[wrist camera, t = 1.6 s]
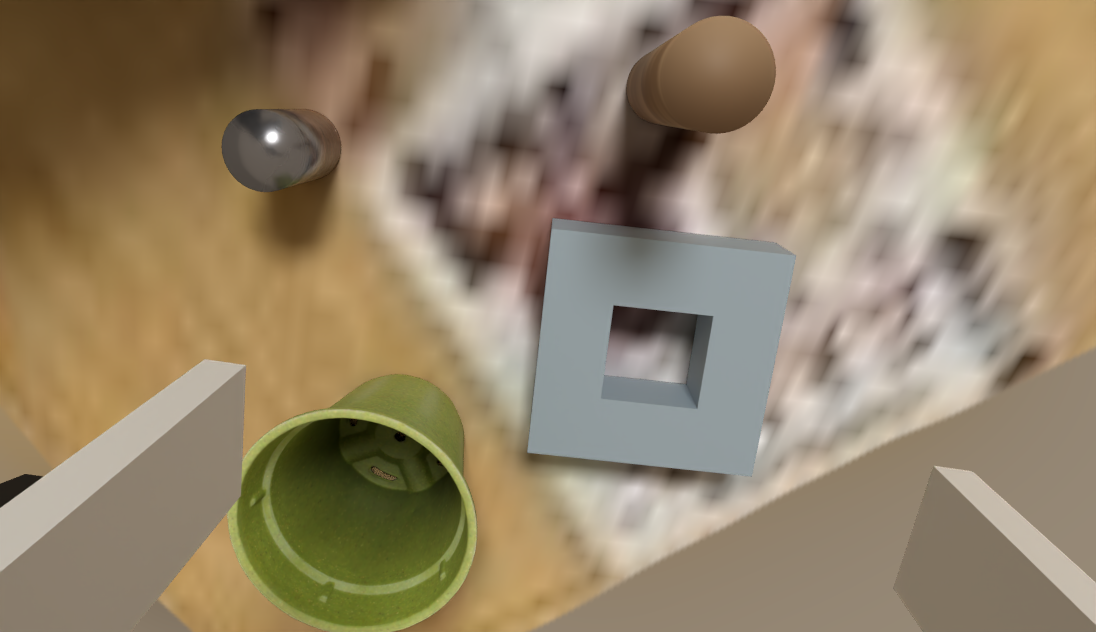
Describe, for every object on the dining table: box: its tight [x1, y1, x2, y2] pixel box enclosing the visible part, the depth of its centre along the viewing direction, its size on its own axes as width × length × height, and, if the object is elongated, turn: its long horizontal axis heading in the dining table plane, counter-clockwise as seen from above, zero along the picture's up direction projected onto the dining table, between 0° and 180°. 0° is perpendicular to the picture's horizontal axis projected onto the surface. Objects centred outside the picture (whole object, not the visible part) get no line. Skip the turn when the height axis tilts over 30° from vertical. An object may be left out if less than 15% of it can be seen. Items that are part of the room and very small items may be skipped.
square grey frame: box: [527, 218, 796, 477], centre depth 33 cm, size 10×10×3 cm
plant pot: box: [227, 374, 477, 632], centre depth 32 cm, size 9×9×9 cm
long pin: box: [627, 16, 776, 134], centre depth 26 cm, size 3×3×12 cm
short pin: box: [222, 109, 341, 192], centre depth 30 cm, size 3×3×5 cm
